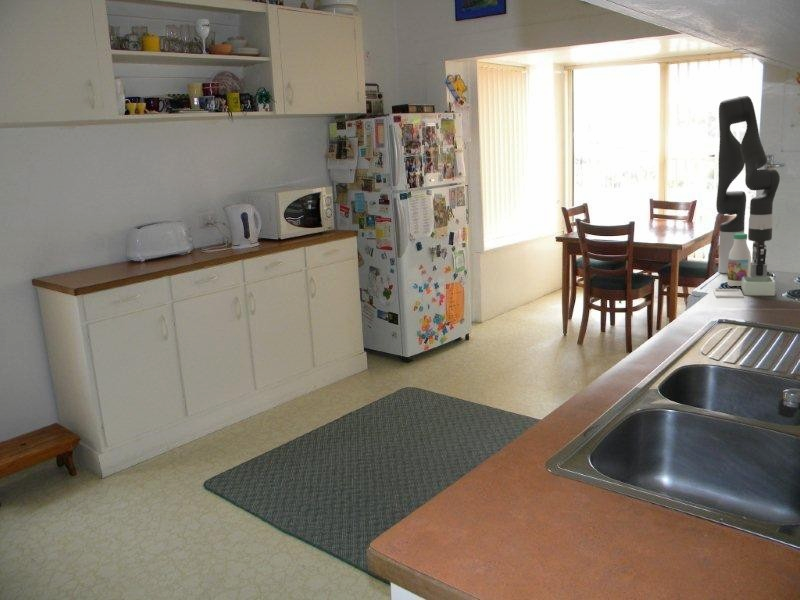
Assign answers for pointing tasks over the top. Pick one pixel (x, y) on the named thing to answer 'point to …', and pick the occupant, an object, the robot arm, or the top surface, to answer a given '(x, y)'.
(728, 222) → the robot arm
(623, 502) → the top surface
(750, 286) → the green bin
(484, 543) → the top surface
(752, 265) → the gray cube
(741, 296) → the white tray
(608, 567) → the top surface
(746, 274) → the milk bottle
